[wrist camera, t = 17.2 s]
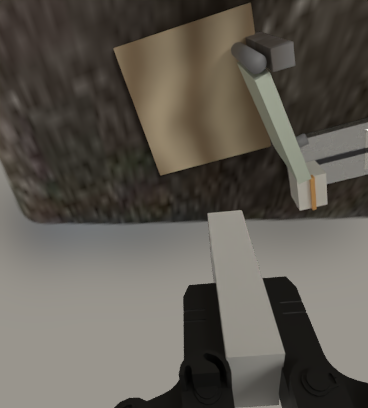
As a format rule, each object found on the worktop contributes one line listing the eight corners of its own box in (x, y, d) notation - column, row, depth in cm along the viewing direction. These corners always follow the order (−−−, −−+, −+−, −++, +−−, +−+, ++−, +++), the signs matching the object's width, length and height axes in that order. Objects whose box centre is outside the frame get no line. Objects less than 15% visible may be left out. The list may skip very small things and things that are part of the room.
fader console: (408, 106, 35) (416, 110, 34) (402, 160, 39) (409, 164, 38) (285, 139, 37) (289, 143, 36) (291, 187, 41) (294, 192, 40)
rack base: (255, 0, 29) (289, -3, 20) (274, 142, 37) (305, 187, 28) (114, 47, 32) (87, 64, 22) (160, 172, 39) (154, 223, 30)
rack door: (228, 46, 30) (244, 60, 23) (255, 30, 29) (282, 38, 22) (273, 147, 36) (297, 184, 28) (297, 135, 35) (328, 170, 28)
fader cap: (306, 150, 36) (327, 174, 31) (308, 179, 39) (328, 206, 33) (281, 157, 37) (297, 181, 32) (284, 185, 39) (300, 212, 34)
